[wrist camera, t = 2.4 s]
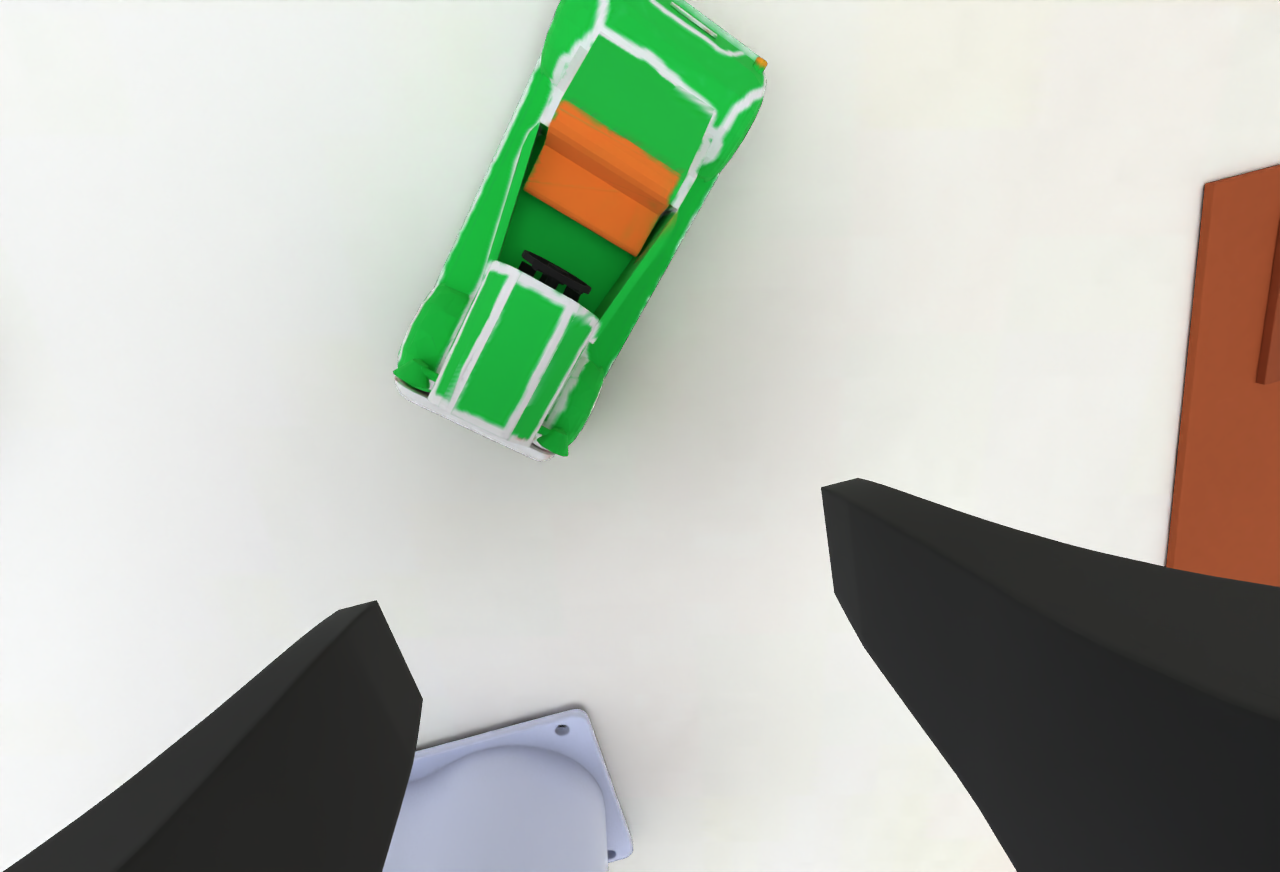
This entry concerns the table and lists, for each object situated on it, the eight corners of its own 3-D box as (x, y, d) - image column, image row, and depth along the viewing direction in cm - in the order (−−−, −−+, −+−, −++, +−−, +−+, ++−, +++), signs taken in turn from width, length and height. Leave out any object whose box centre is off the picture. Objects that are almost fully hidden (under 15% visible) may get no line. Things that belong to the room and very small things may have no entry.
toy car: (555, 453, 19) (550, 517, 15) (398, 378, 17) (345, 426, 13) (762, 81, 16) (828, 32, 12) (593, -43, 14) (600, -146, 10)
